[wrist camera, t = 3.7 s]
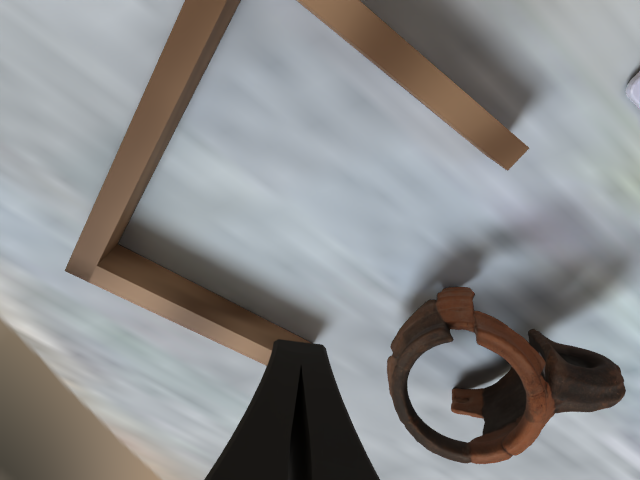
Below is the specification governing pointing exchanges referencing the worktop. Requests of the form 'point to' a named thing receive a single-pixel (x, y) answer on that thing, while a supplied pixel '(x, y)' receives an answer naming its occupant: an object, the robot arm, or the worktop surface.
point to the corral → (161, 121)
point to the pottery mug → (510, 391)
